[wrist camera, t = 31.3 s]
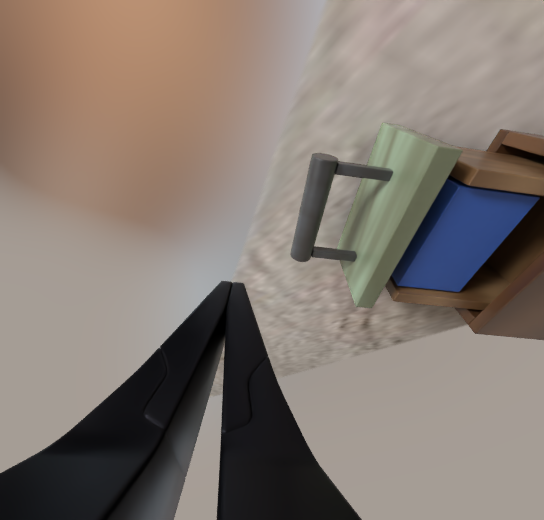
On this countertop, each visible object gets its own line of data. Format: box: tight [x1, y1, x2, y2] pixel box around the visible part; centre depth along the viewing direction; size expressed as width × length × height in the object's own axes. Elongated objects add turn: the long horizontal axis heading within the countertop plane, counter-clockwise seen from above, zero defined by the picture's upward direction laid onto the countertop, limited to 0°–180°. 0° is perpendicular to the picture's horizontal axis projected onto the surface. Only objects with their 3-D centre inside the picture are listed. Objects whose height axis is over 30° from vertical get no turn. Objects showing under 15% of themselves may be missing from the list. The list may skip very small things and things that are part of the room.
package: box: [392, 175, 540, 292], centre depth 16 cm, size 7×4×5 cm, turn 173°
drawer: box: [291, 123, 544, 310], centre depth 16 cm, size 18×10×7 cm, turn 83°
